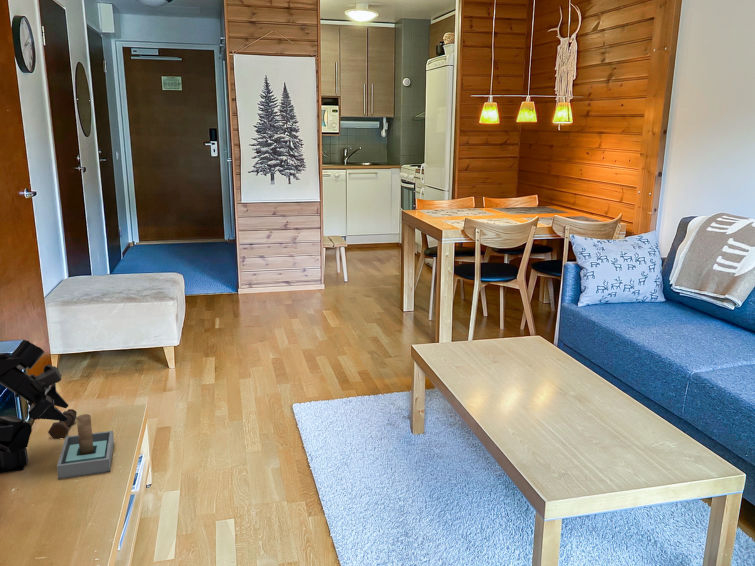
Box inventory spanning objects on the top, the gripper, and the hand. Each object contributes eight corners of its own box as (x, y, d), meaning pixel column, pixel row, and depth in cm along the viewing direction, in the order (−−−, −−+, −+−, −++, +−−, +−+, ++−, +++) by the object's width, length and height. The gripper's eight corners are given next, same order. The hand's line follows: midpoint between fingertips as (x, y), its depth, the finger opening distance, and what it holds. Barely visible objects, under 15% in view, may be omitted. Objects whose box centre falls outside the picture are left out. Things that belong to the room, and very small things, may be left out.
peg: (77, 460, 178) (73, 418, 175) (86, 454, 181) (82, 413, 178) (88, 462, 177) (84, 420, 174) (96, 456, 180) (93, 415, 177)
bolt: (75, 423, 206) (61, 443, 191) (60, 416, 204) (45, 436, 190) (83, 408, 205) (70, 427, 191) (68, 402, 204) (54, 420, 190)
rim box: (58, 479, 169) (56, 466, 168) (67, 448, 185) (65, 436, 184) (109, 472, 173) (108, 459, 172) (113, 442, 189) (112, 430, 188)
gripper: (38, 372, 165) (87, 404, 172) (42, 350, 181) (87, 380, 188) (7, 404, 163) (58, 435, 170) (14, 379, 180) (60, 408, 187)
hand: (67, 413), depth 179 cm, fingers open, 9 cm apart
